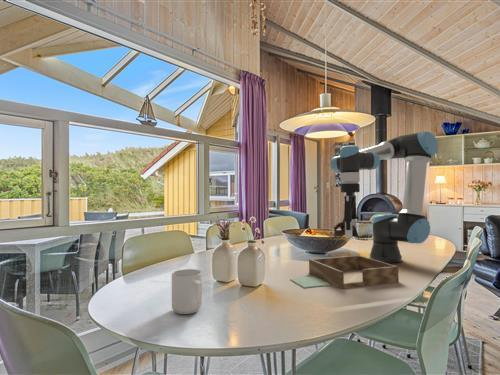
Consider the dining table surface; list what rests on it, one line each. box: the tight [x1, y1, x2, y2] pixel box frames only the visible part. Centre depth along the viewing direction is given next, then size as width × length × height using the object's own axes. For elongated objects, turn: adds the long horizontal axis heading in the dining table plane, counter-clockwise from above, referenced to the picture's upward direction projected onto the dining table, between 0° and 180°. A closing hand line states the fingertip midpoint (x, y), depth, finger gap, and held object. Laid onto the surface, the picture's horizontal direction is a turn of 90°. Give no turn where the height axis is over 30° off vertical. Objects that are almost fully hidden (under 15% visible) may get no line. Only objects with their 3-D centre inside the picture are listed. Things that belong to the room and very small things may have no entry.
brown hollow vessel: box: [333, 221, 360, 240], centre depth 132 cm, size 12×9×8 cm
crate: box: [308, 255, 400, 290], centre depth 130 cm, size 26×24×6 cm
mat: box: [289, 275, 331, 289], centre depth 123 cm, size 11×12×1 cm
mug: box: [171, 268, 203, 315], centre depth 94 cm, size 12×9×11 cm
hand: (351, 236), depth 130 cm, fingers closed on brown hollow vessel, 10 cm apart
